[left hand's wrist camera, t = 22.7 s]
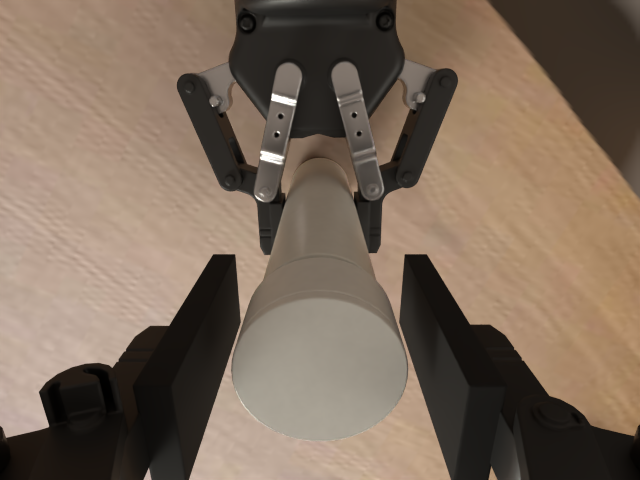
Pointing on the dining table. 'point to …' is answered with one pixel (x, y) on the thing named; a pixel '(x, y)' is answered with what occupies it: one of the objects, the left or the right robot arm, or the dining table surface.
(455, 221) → the dining table surface
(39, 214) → the dining table surface
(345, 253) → the white tall cylinder
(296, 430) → the lid
